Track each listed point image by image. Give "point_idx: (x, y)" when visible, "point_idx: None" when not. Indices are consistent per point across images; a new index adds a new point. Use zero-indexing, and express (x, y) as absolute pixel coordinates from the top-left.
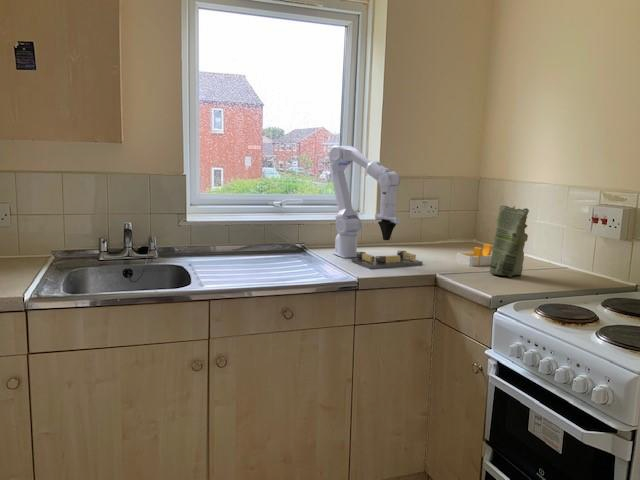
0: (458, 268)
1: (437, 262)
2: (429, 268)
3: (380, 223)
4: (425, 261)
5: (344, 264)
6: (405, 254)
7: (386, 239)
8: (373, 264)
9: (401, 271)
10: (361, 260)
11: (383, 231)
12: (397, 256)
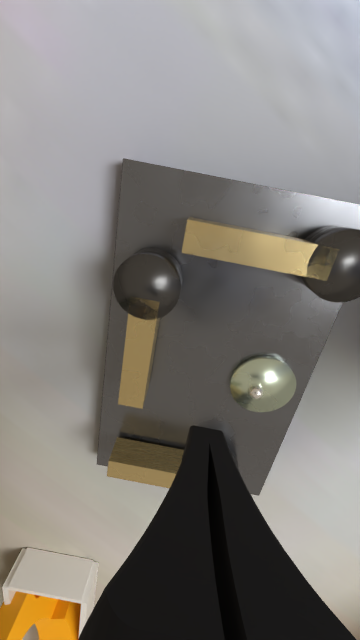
0: (3, 501)
1: (116, 518)
2: (34, 429)
3: (266, 627)
4: (151, 502)
5: (339, 84)
6: (170, 465)
7: (186, 440)
8: (146, 208)
9: (14, 284)
10: (287, 225)
11: (205, 495)
12: (120, 385)
